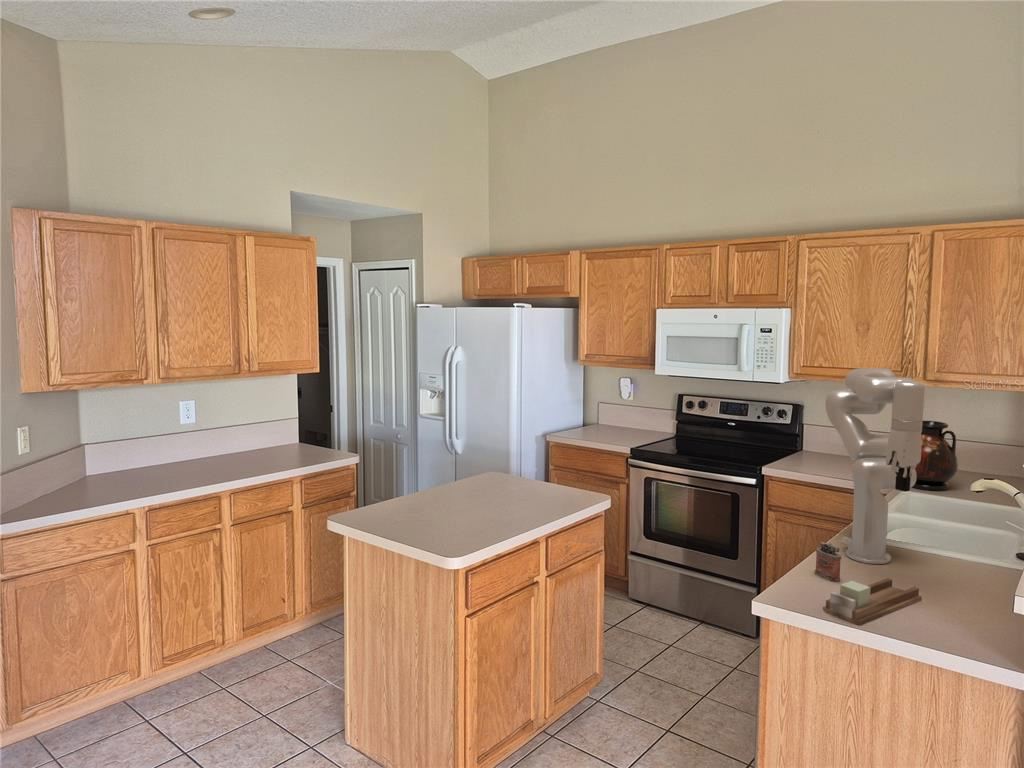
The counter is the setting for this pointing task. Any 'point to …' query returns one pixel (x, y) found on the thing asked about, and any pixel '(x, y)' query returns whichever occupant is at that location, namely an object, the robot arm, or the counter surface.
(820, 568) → the lighter
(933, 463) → the amphora vase
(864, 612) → the chute
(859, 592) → the block
